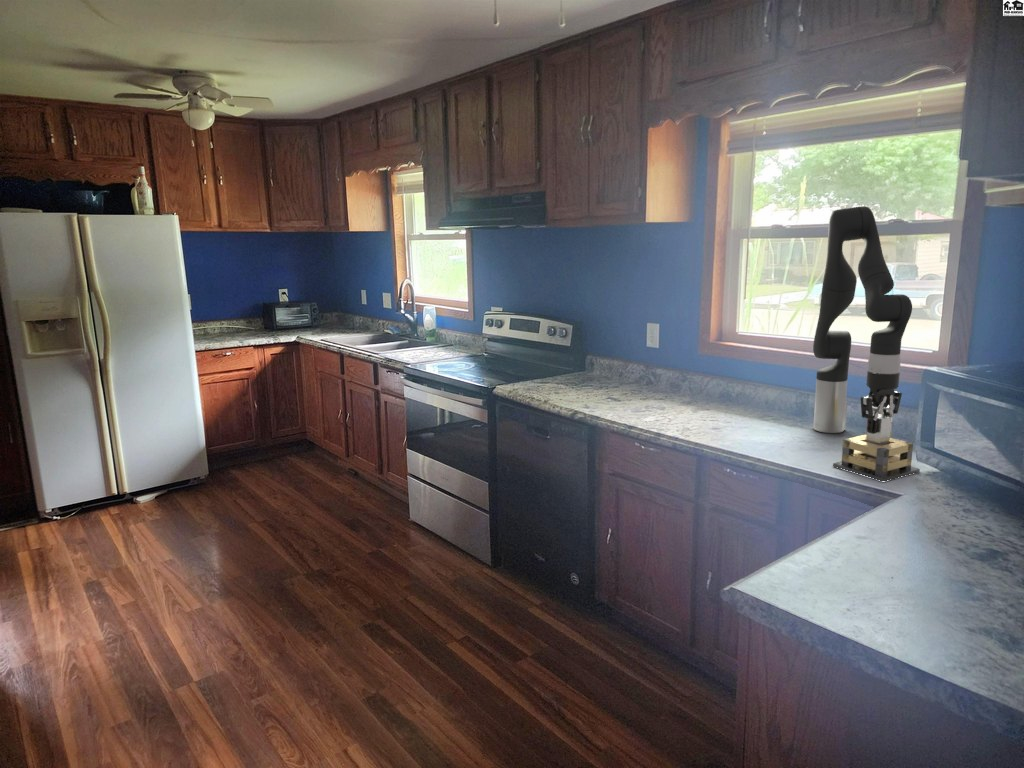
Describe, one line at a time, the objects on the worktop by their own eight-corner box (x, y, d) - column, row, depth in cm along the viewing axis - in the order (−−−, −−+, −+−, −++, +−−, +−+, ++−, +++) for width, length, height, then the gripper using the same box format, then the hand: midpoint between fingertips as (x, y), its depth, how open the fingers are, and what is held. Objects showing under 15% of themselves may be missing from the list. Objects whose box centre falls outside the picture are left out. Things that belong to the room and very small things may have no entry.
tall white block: (873, 462, 184) (877, 413, 181) (887, 466, 180) (892, 417, 177) (864, 465, 182) (867, 415, 179) (878, 469, 178) (882, 419, 175)
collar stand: (868, 457, 191) (870, 431, 189) (919, 472, 178) (922, 443, 176) (832, 466, 184) (834, 439, 183) (883, 482, 171) (885, 453, 170)
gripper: (887, 365, 182) (882, 424, 185) (852, 370, 176) (848, 432, 179) (914, 369, 175) (908, 430, 179) (879, 375, 169) (874, 438, 173)
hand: (878, 431), depth 179 cm, fingers open, 5 cm apart
